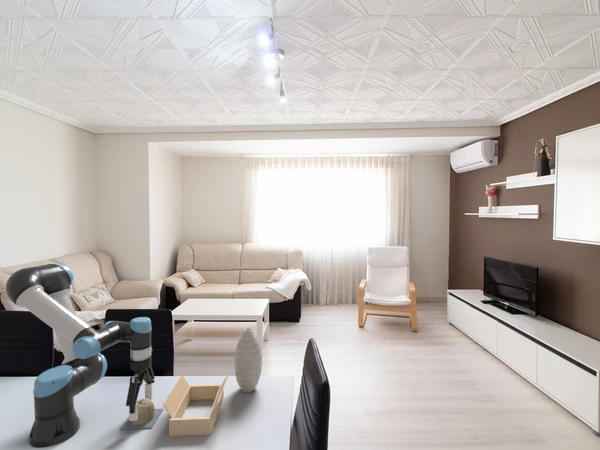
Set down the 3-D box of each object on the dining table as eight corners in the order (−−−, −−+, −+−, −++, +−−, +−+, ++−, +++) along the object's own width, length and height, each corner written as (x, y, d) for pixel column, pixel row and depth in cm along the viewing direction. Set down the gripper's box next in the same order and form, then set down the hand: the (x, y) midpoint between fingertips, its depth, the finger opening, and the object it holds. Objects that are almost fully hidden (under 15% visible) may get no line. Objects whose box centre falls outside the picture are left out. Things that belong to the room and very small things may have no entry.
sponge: (137, 436, 124) (150, 417, 123) (119, 419, 126) (131, 401, 124) (153, 420, 133) (165, 403, 132) (136, 405, 135) (147, 388, 133)
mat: (119, 429, 123) (119, 428, 123) (134, 410, 135) (134, 409, 135) (151, 428, 123) (151, 427, 123) (163, 409, 135) (163, 408, 135)
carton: (162, 436, 119) (161, 406, 118) (183, 398, 143) (182, 373, 143) (218, 434, 120) (217, 404, 119) (229, 397, 144) (229, 372, 144)
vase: (259, 396, 144) (259, 334, 143) (231, 396, 144) (230, 334, 144) (263, 381, 157) (263, 325, 156) (237, 381, 157) (236, 325, 156)
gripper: (136, 372, 116) (136, 429, 117) (162, 344, 141) (162, 391, 141) (114, 372, 115) (115, 430, 116) (145, 344, 140) (145, 392, 141)
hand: (141, 409), depth 129 cm, fingers open, 13 cm apart
